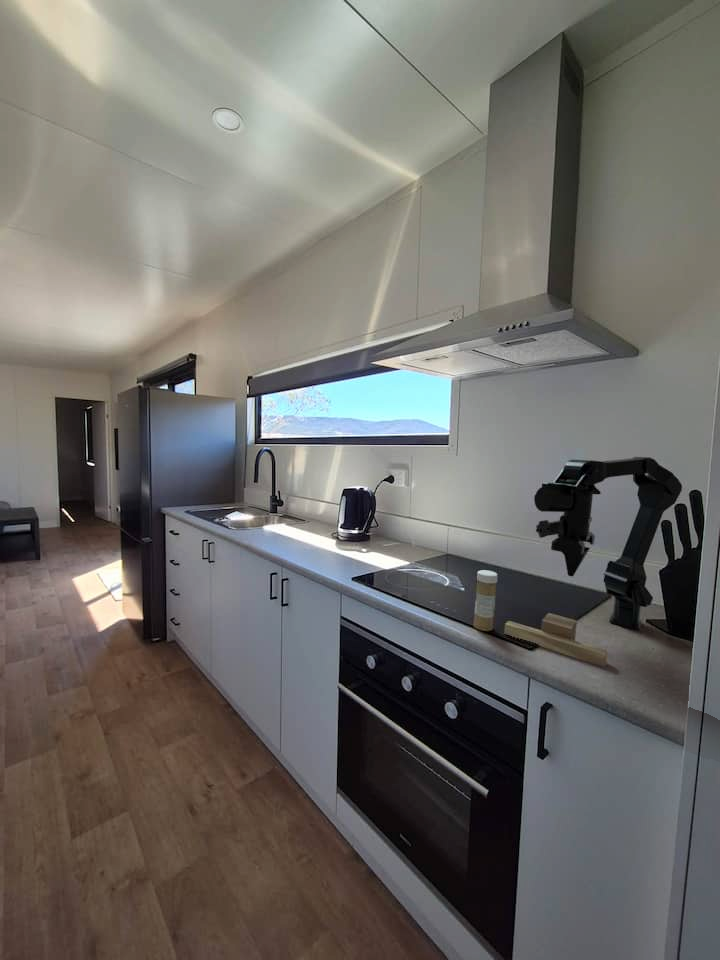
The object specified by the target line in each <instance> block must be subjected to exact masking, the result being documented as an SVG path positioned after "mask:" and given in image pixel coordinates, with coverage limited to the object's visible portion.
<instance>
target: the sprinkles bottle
mask: <svg viewBox="0 0 720 960" xmlns="http://www.w3.org/2000/svg"><path fill="white" fill-rule="evenodd" d="M476 580H477V584H476V585H477V586H476V593H475V596H476V597H475V605H474V617H473V619H474V620H473V627H474V628H476V630H477V629H478V631H479V630H480V631H482V632H483V631H485V632H489V631H492V630H493V629H494V626H493V625H494V624H493V623H494V616H495V608H496V607H495V604H496V590H497V583H498V573H497V572H495V571H492V570H486V569H482V570H478V571H477V576H476Z"/></svg>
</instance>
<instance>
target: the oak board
mask: <svg viewBox="0 0 720 960" xmlns="http://www.w3.org/2000/svg"><path fill="white" fill-rule="evenodd" d="M504 634H507V635H510V636H512V637H511V638H513V637H515V638H514V639H517V638H519V639H518V640H520V639H523V640H527V641H530V642H533V643H536V644H538V645H539V646H538V645H537V646H538V647H542V648H544V649H548V650H551V651H554V652H557V653H560V654H563V655H567V656H569V657H571V658H574V659H578V660H581V661H585V662H587V663H590V664H594V665H595V666H599V667H603V668H605V667H606V664H607V661H608V660H607V659H608V658H607V657H608V650H607V649H603V648H599V647H597V646H593V645H590V644H587V643H583V642H580V641H577V640H575V641H574V640H571V639H567V638H564V637H561V636H557V635H554V634H551V633H547V632H544V631H541V629H537V628H534V627H530V626H527V625H524V624H521V623H518V622H514V621H510V620H508V621H507V622H506V623H504V631H503V635H504ZM507 635H506V636H507ZM510 636H509V637H510ZM523 640H522V641H523Z"/></svg>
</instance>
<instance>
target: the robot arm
mask: <svg viewBox="0 0 720 960" xmlns="http://www.w3.org/2000/svg"><path fill="white" fill-rule="evenodd" d="M629 475H630V476H631V475H632V481H633V483H634V484H636V486H637V487H638V488H637V492H636V493H637V499H638V502H639V509H638V510H637V513H636V516H635V519H634V521H633V524H632V526H631V529H630V532H629V535H628V536H627V541H626V542H625V545H624V548H623V550H622V553H621V556H620V557H619V558H618V559H616V560H615V561H613V560H609V561H608V562H607V566H606V568H605V571H604V572H603V583H604V586H605V591H606V595H609V596H611V597H612V596H613V597H614V599H613V601H614V602H613V607H612V608H613V609H612V610H613V611H612V614H611V615H610V617H609V621H608V622H609V623H610V624H615V625H618V626H622V627H626V628H629V629H633V630H637V631H641V626H642V620H640V619H641V608H642V607H643V608H647V607H648V606H651V604H652V602H653V598H654V597H653V596H652V594H651V593H650V591H649V590H648V589H647V587H646V582H647V575H646V574H647V573H646V570H645V566H644V565H645V562H646V559H647V556H648V553H649V551H650V549H651V545H652V543H653V540H654V537H655V535H656V533H657V530H658V527H659V524H660V522H661V519H662V517H663V515H664V514H663V513H664V512H665V511H667V510H668V509H670V508H671V507H672V506H674V505H675V504H676V502H677V499H678V498H679V497H680V495H681V493H682V490H683V485H682V483H681V481H680V479H679V478H677V476H676V475H675V474H674V473H673V472H672V471H670V470H668V469H667V468H666V467H663V466H662V465H660V464H659V463H658V461H656V459H654V458H652V457H644V456H643V457H642V456H634V457H631V458H623V459H614V460H612V459H611V460H604V461H599V460H593V459H592V460H590V459H589V460H588V459H570V460H567V461H566V462H565V464H564V466H563V468H562V470H561V471H560V472H559V473H558V475H557V476H556V478H555V479H554V480H553V482H552V483H551V482H544V481H543V482H541V487H539V488H538V489H537V491H536V492H535V494H534V497H533V500H534V501H533V502H534V505H535V507H536V510H538V511H540V512H543V513H545V512H548V513H549V512H551V513H552V512H553V513H563V514H561V516H560V517H559V519H558V520H553V521H549V520H548V519H545V520H544V519H543V520H540V521H539V522H538V524H536V526H535V527H536V529H535V532H536V533H537V534H538V537H539V538H540V539H542V538H546V537H548V536H553V535H554V536H556V535H557V538H555V539H553V540H552V541H551V547H550V550H551V551H555V552H559V553H560V552H561V553H562V555H563V556H564V559H565V560H564V561H565V567H566V573H567V576H568V577H571V578H572V577H574V575H576V572H577V571H578V569H579V568H580V566H581V564H582V562H583V561H584V559H585V558H586V555H587V554H588V552H589V551H590V549H591V548H590V547H586V544H585V543H589V545H594V544H595V537H596V536H595V534H594V533H593V532H592V531H590V528H591V527H590V525H591V522H592V521H593V517H591V516H592V508H593V507H592V506H593V496H594V495H601V494H602V491H600V489H598V488H597V487H596V484H599V483H602V482H604V480H606V479H609V478H615V477H622V476H629Z"/></svg>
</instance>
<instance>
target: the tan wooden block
mask: <svg viewBox="0 0 720 960" xmlns="http://www.w3.org/2000/svg"><path fill="white" fill-rule="evenodd" d="M577 623H578V620H575V619H573V618H568V617H565V616H561V615H559V614H558V615H557V614H554V613H551V612H548V613H547V614H546V615H545V616H544V617H543V618H542V620H541V626H540V627H541V628H540V630H541V631H544V632H547V633H551V634H554V635H557V636H561V637H564V638H567V639H571V640H574V641H576V635H577Z"/></svg>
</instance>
